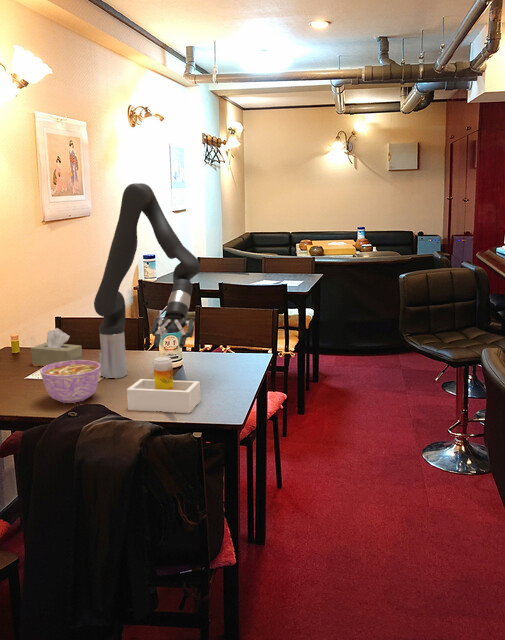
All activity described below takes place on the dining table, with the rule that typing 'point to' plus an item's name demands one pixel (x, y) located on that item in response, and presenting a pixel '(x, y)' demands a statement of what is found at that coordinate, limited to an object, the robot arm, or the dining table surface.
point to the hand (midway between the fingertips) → (168, 346)
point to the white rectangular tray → (163, 396)
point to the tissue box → (55, 349)
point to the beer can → (163, 373)
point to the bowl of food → (71, 380)
